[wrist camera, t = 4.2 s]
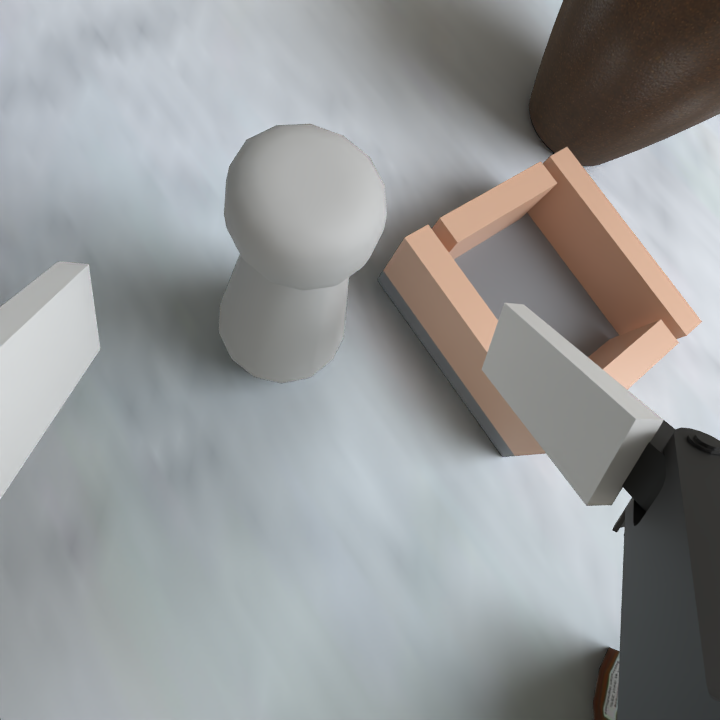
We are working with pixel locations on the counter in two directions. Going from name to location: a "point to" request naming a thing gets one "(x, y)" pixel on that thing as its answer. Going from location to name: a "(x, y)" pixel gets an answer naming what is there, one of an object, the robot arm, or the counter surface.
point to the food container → (607, 687)
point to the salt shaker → (296, 247)
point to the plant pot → (626, 75)
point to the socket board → (535, 286)
